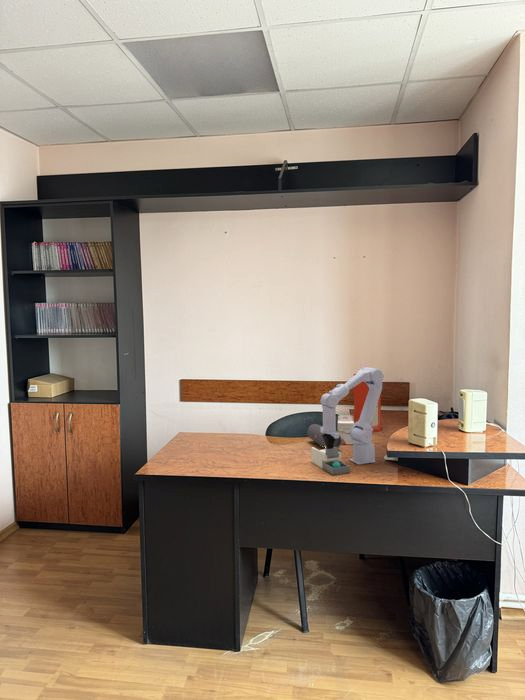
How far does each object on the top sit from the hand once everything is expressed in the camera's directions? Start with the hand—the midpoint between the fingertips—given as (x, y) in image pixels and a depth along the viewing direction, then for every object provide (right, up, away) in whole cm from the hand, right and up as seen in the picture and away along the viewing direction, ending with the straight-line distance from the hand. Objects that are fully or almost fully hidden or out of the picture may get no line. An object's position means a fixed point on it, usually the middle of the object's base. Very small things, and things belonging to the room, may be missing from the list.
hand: (329, 450), depth 216 cm
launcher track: (-1, -7, +4) cm, 8 cm away
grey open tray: (+2, -8, -6) cm, 10 cm away
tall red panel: (+32, -2, +71) cm, 78 cm away
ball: (+2, -6, -6) cm, 8 cm away
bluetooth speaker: (+2, -5, +34) cm, 35 cm away
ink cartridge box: (+14, -5, +39) cm, 42 cm away
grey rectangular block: (+1, -2, -2) cm, 3 cm away
